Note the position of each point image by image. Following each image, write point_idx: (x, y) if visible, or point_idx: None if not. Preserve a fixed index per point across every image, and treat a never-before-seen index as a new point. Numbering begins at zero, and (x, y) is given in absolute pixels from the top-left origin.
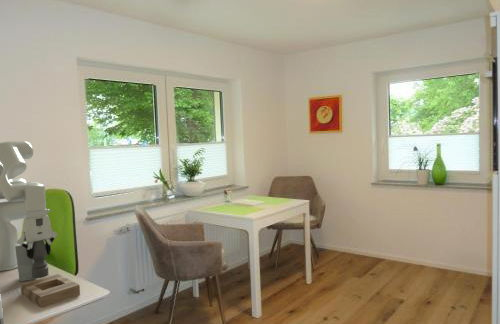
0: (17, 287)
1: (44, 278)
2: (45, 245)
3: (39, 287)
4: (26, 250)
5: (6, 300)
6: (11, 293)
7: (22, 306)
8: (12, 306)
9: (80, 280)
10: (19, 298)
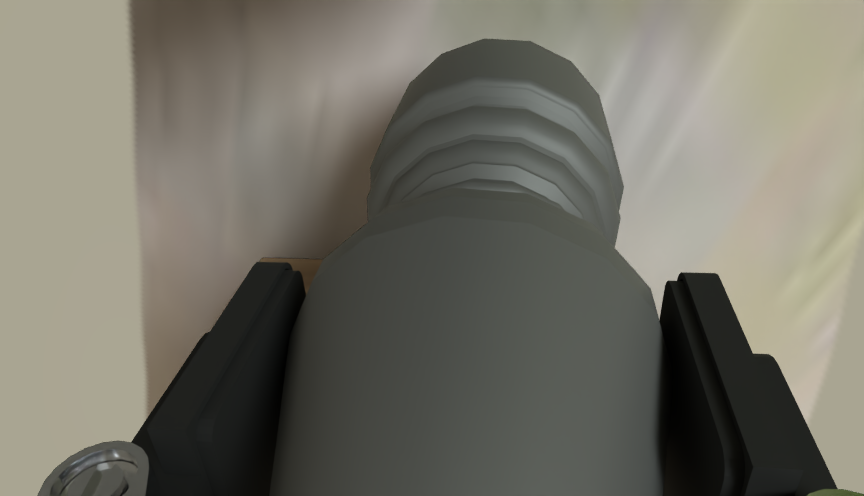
0: (259, 3)
1: None
2: (711, 492)
3: None
4: (141, 431)
5: (141, 287)
6: (186, 151)
7: None
8: None
9: (804, 378)
10: None
